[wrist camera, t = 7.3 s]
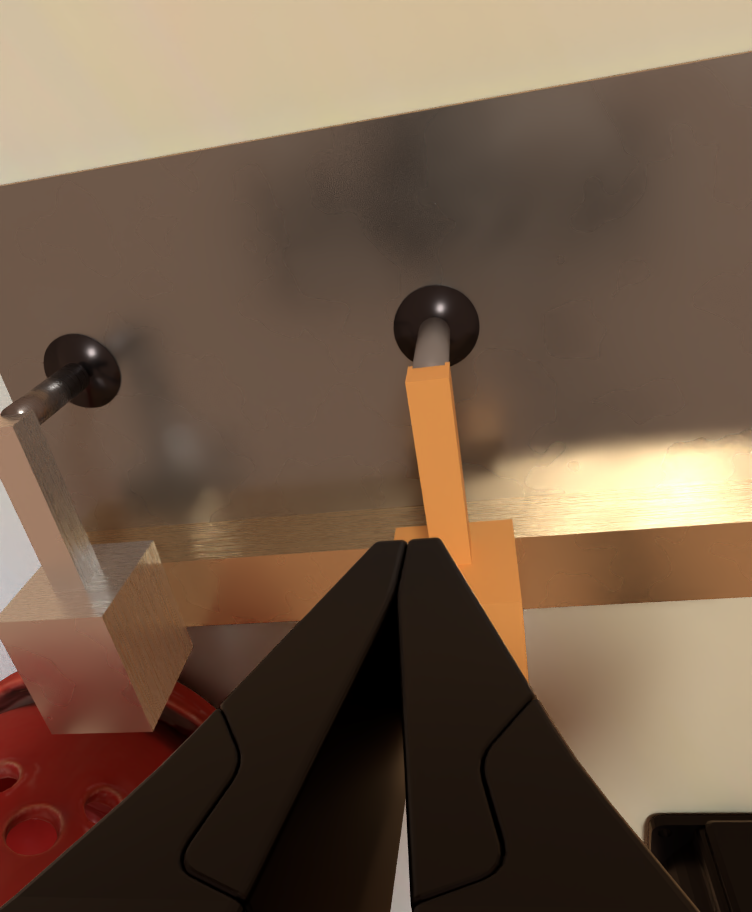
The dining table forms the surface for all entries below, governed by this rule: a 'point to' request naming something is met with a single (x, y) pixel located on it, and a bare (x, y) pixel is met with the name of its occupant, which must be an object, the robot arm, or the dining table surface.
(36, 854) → the plant pot
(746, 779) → the dining table surface
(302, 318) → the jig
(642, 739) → the dining table surface
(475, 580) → the orange block with bar
